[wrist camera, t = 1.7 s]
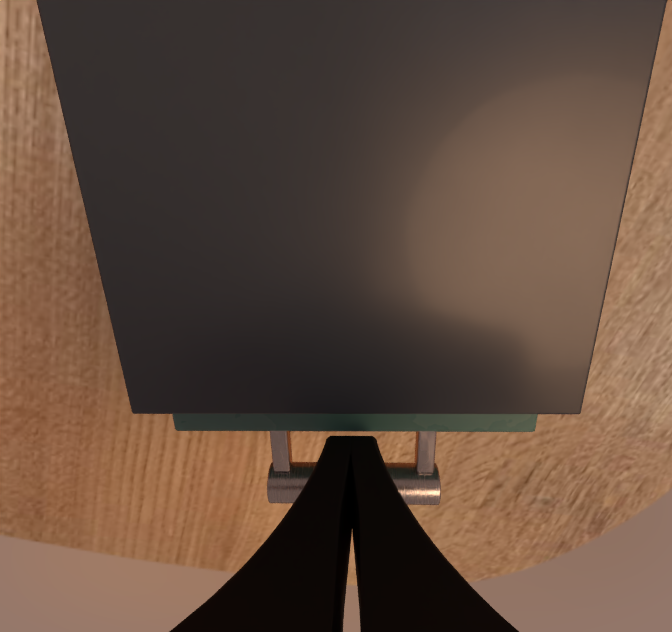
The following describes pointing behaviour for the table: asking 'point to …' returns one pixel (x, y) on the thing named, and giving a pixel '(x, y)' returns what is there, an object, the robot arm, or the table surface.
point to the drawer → (410, 478)
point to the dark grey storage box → (353, 195)
